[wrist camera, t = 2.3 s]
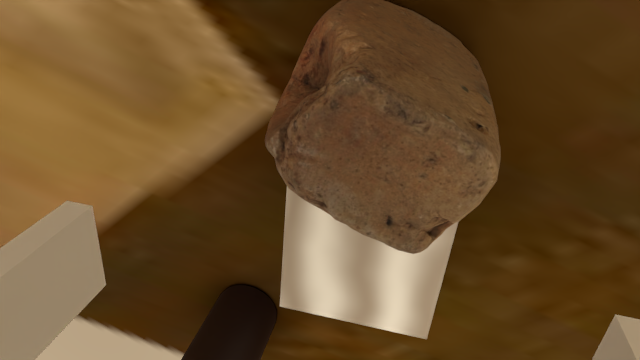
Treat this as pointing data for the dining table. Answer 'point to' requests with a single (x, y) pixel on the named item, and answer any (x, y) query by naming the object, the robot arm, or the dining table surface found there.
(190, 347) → the bottle
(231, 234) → the dining table surface
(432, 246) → the platform
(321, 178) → the brown river rock
